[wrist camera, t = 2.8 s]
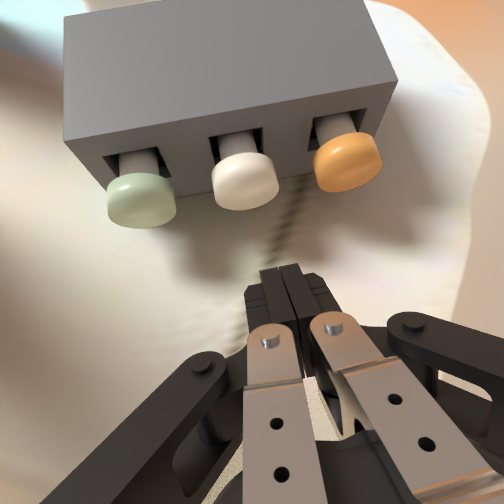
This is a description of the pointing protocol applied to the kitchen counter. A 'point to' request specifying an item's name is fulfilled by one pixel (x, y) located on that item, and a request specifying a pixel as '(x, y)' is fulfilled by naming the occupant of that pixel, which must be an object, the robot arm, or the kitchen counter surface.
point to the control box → (217, 81)
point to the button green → (140, 192)
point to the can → (109, 4)
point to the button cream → (243, 173)
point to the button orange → (343, 154)
